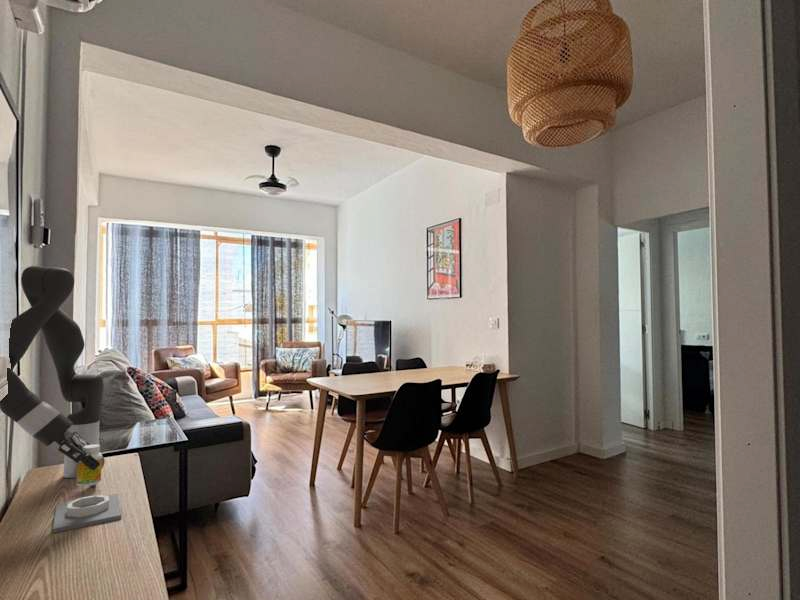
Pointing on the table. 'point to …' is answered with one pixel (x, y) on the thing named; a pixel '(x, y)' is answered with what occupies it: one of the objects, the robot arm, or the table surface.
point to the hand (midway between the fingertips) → (98, 464)
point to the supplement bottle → (85, 473)
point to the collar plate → (86, 512)
